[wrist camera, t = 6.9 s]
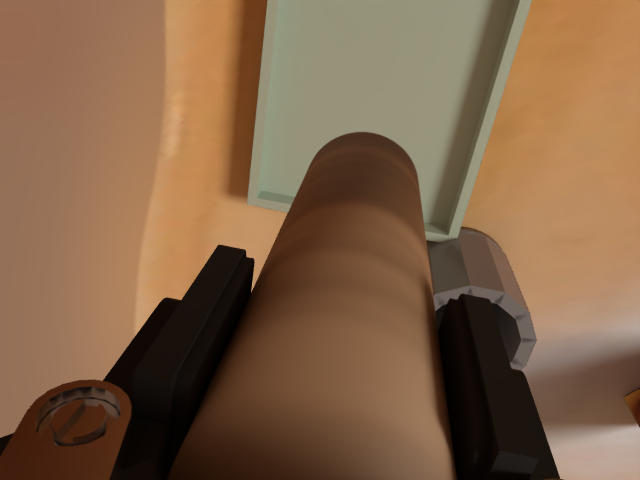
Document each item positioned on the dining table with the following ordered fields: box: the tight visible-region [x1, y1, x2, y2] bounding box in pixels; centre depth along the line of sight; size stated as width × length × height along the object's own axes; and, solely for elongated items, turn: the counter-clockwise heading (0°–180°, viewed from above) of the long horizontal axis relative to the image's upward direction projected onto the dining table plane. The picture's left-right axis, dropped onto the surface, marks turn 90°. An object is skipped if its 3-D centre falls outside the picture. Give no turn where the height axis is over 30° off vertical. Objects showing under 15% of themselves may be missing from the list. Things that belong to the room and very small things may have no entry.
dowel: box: [167, 132, 457, 480], centre depth 13 cm, size 4×4×13 cm
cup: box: [426, 227, 537, 370], centre depth 34 cm, size 7×7×8 cm
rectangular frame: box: [247, 0, 532, 242], centre depth 32 cm, size 16×14×2 cm
